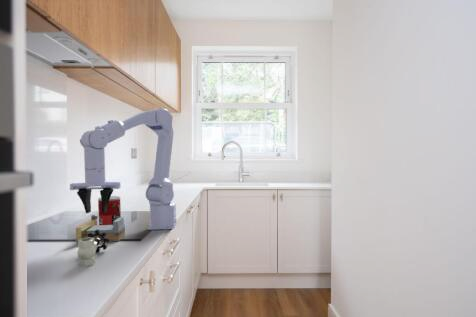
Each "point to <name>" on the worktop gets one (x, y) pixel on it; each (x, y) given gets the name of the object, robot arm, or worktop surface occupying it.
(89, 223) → the bar
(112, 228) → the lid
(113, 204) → the canned food
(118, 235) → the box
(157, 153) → the robot arm
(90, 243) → the valve
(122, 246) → the worktop surface
